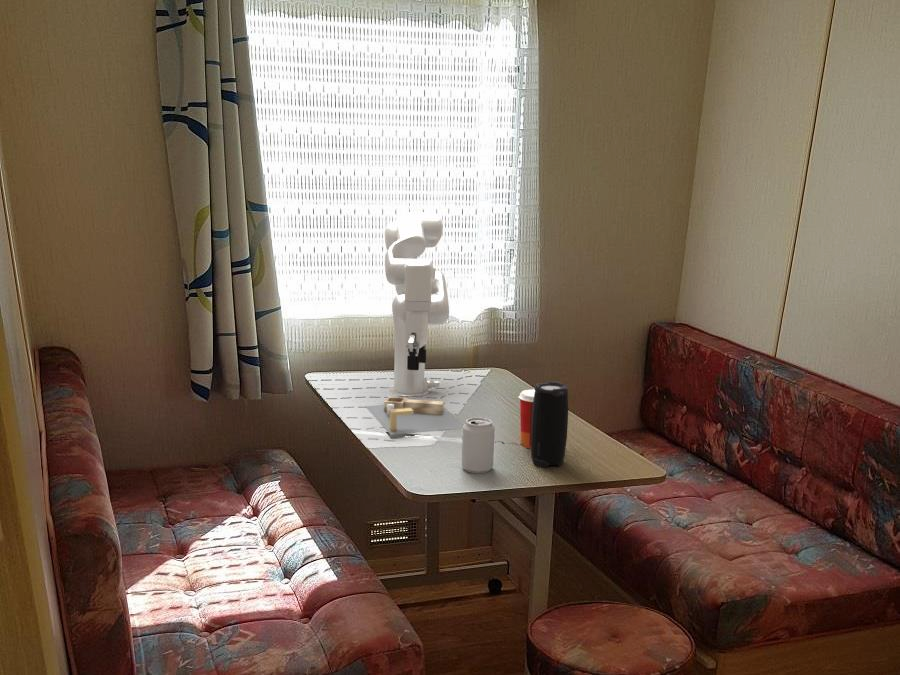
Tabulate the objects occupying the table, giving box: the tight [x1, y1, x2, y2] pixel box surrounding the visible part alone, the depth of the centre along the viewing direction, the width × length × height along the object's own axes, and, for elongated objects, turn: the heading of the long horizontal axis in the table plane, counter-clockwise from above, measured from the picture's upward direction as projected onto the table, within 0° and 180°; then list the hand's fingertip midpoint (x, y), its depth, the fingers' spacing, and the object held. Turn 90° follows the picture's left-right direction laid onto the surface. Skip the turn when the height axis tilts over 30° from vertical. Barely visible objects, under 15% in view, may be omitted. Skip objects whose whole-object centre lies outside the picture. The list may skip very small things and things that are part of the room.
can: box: [461, 417, 496, 474], centre depth 191 cm, size 8×8×12 cm
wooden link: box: [383, 396, 445, 415], centre depth 233 cm, size 17×5×3 cm, turn 80°
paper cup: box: [518, 389, 535, 449], centre depth 209 cm, size 8×8×14 cm
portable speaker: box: [530, 381, 569, 469], centre depth 196 cm, size 9×9×20 cm
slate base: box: [365, 404, 466, 439], centre depth 228 cm, size 22×27×6 cm
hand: (416, 366), depth 230 cm, fingers open, 9 cm apart
